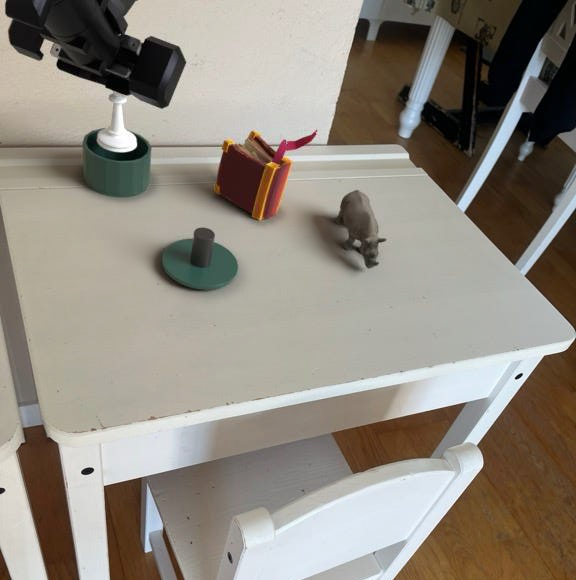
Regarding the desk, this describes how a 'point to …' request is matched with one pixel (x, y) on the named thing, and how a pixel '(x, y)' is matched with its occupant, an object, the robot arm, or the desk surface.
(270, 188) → the book monster
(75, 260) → the desk surface
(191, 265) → the pot lid
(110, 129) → the chess piece
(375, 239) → the rhino figurine
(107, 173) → the pot
